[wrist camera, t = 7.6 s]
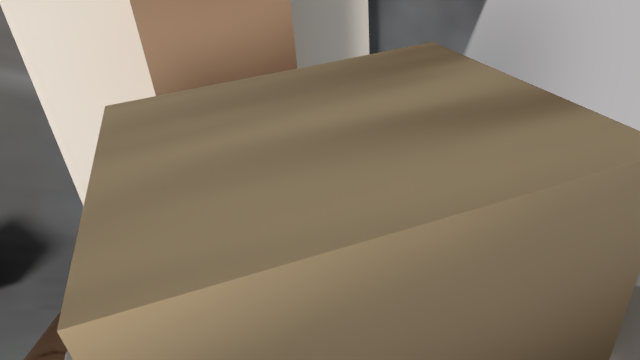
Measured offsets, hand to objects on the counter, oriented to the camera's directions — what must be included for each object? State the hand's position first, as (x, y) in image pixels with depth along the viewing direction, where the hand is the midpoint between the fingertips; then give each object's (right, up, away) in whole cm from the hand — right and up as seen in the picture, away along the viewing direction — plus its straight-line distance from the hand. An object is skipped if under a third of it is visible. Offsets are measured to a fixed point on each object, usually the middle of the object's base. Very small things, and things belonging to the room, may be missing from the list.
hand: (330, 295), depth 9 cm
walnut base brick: (-6, +8, +15) cm, 18 cm away
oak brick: (-1, +1, +1) cm, 2 cm away
